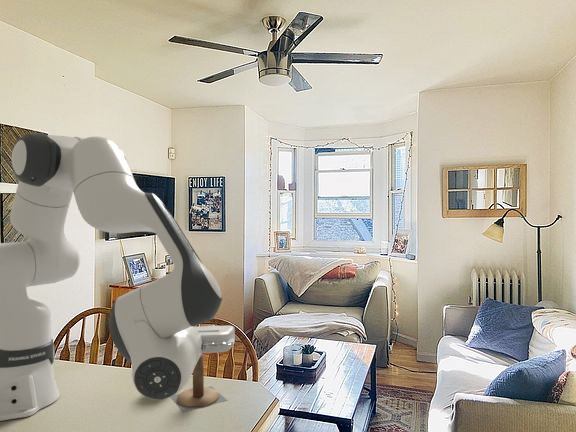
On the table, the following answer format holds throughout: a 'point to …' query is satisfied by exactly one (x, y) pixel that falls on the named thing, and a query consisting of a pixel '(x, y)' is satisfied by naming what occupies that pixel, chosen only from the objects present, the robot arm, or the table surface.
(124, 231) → the robot arm
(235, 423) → the table surface
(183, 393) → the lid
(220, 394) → the mat
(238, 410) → the table surface
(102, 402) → the table surface
